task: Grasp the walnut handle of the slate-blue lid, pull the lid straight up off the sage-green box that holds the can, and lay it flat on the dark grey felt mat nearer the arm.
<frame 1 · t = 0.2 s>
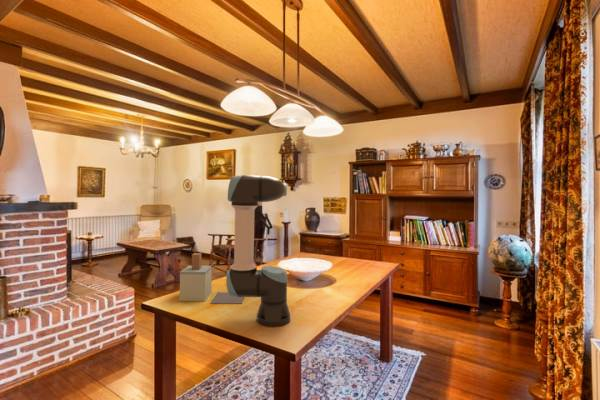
hand: (255, 239, 181), 28 cm above the table, fingers open, 13 cm apart
lid: (196, 270, 159), point 14 cm above the table, touching box
mat: (229, 298, 159), on the table
box: (196, 296, 160), on the table
can: (196, 297, 160), resting in box
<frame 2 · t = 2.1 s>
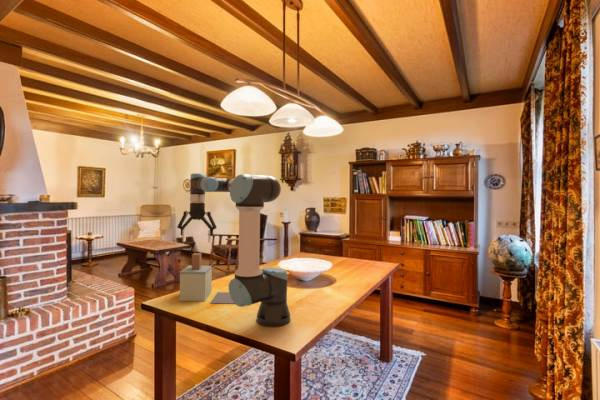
hand: (196, 241, 159), 30 cm above the table, fingers open, 13 cm apart
nothing on the table moved.
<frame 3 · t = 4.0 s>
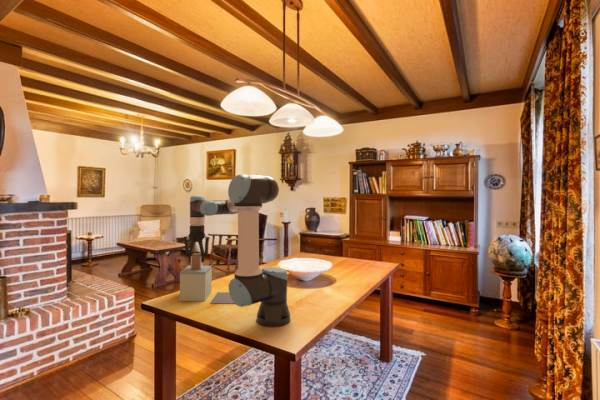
hand: (196, 267, 159), 16 cm above the table, fingers closed on lid, 4 cm apart
lid: (196, 270, 159), point 14 cm above the table, touching box, gripper
everything else where it was.
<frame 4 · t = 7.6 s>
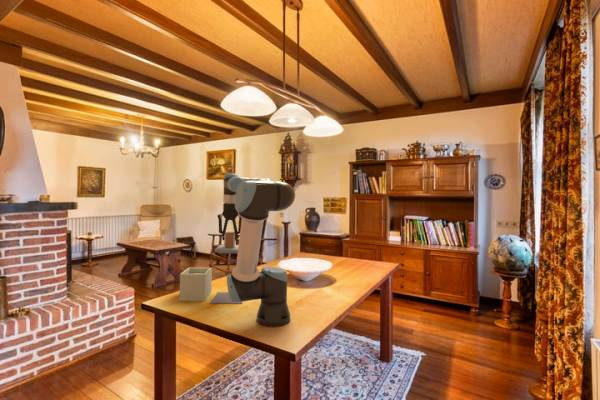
hand: (229, 246, 158), 28 cm above the table, fingers closed on lid, 4 cm apart
lid: (229, 249, 158), point 26 cm above the table, touching gripper
everything else where it was.
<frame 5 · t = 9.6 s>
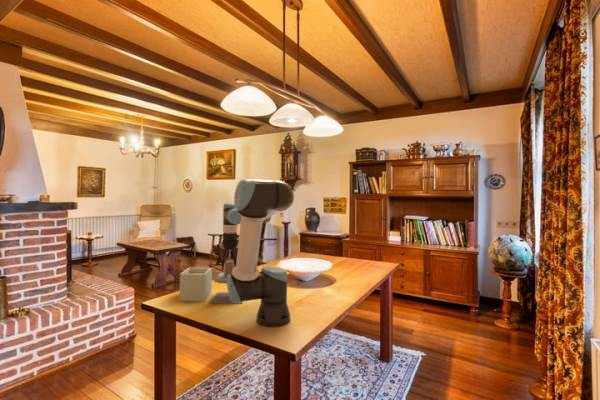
hand: (229, 275, 158), 12 cm above the table, fingers closed on lid, 4 cm apart
lid: (229, 278, 158), point 11 cm above the table, touching gripper
everything else where it was.
when the fingers open (5 cm above the table, at t = 11.2 s): lid drops 2 cm, resting on mat.
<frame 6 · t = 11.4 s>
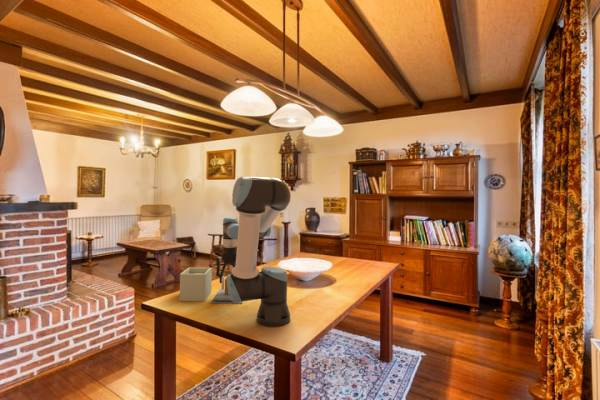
hand: (229, 289, 158), 5 cm above the table, fingers open, 6 cm apart
lid: (229, 295, 159), point 1 cm above the table, touching mat
everything else where it was.
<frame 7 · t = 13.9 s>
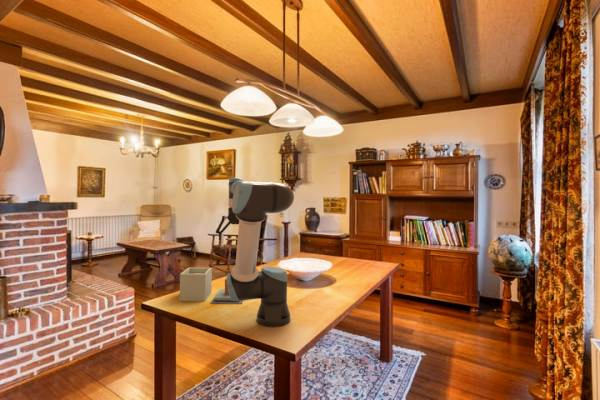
hand: (235, 246, 158), 28 cm above the table, fingers open, 13 cm apart
nothing on the table moved.
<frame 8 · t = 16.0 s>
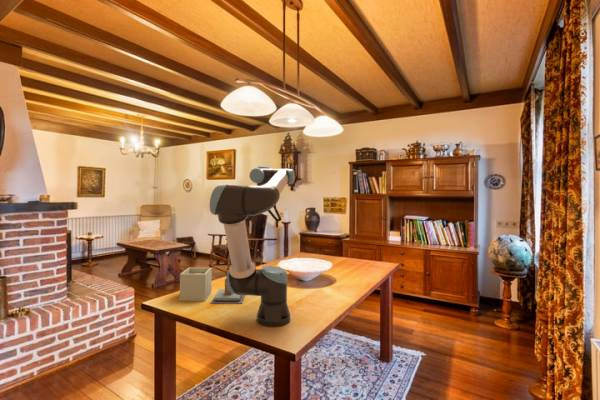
hand: (262, 233, 162), 35 cm above the table, fingers open, 13 cm apart
nothing on the table moved.
at the end: lid inside the target area on the mat (0.0 cm from its centre), point 1.4 cm above the mat's base; lid tilted 0°; the gripper is holding nothing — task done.
